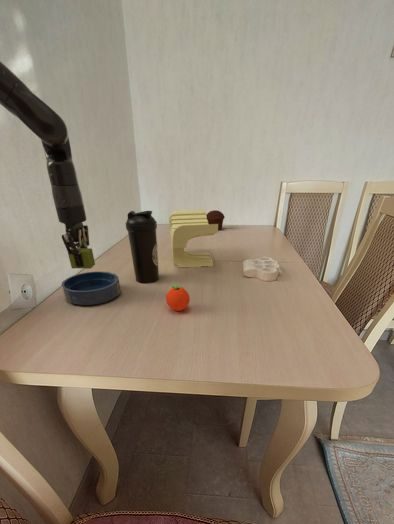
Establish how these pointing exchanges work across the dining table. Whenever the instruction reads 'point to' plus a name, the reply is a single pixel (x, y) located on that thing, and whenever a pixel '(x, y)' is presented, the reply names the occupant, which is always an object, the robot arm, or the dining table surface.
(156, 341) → the dining table surface
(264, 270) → the white lobed compartment tray
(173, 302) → the clementine
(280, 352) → the dining table surface
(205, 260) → the slatted curved stool
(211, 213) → the muffin
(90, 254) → the sponge
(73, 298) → the bowl
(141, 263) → the water bottle
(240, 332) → the dining table surface
